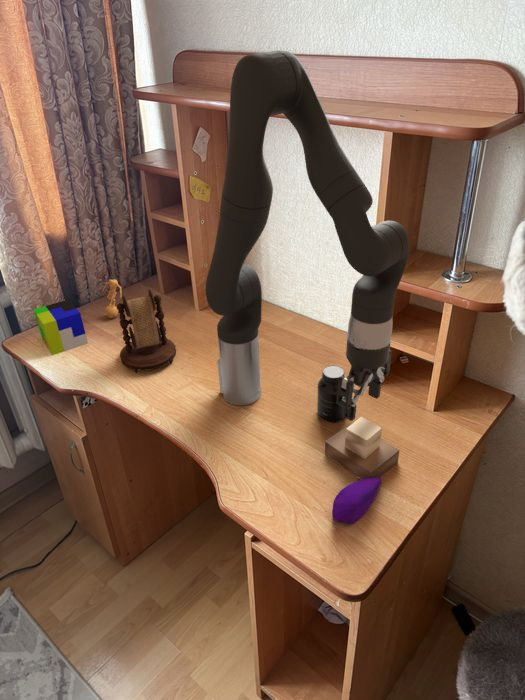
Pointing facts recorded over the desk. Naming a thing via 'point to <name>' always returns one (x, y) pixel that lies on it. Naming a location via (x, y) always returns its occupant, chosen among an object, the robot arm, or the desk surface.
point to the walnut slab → (357, 465)
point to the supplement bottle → (329, 394)
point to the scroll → (144, 334)
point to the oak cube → (363, 437)
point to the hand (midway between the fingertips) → (361, 407)
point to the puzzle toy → (61, 326)
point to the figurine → (111, 309)
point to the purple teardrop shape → (355, 500)
